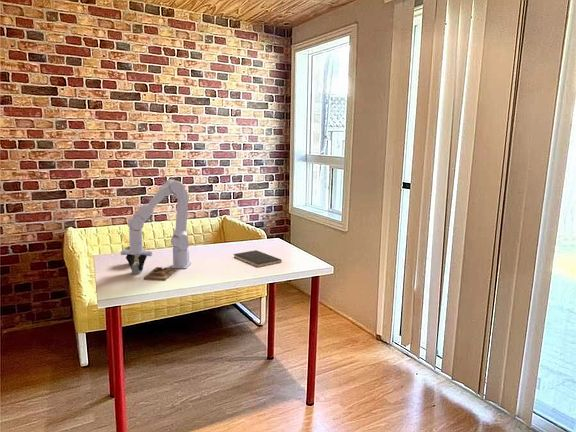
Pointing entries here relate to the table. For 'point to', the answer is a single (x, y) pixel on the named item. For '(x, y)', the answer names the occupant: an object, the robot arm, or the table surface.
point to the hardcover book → (257, 258)
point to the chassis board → (159, 274)
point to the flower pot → (135, 255)
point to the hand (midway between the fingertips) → (137, 269)
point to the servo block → (136, 268)
